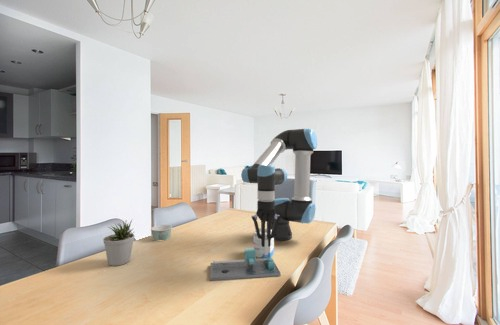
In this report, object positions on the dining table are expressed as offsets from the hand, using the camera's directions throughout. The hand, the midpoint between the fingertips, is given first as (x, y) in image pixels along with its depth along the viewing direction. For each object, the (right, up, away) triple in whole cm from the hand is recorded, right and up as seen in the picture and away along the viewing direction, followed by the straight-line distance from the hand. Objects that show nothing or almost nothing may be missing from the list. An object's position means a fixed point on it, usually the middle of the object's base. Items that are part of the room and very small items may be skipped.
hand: (265, 253), depth 109 cm
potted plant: (-66, -6, +4) cm, 67 cm away
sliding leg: (-7, -4, -3) cm, 8 cm away
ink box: (0, -6, +14) cm, 15 cm away
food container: (-59, -5, +38) cm, 71 cm away
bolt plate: (-9, -6, -4) cm, 12 cm away
